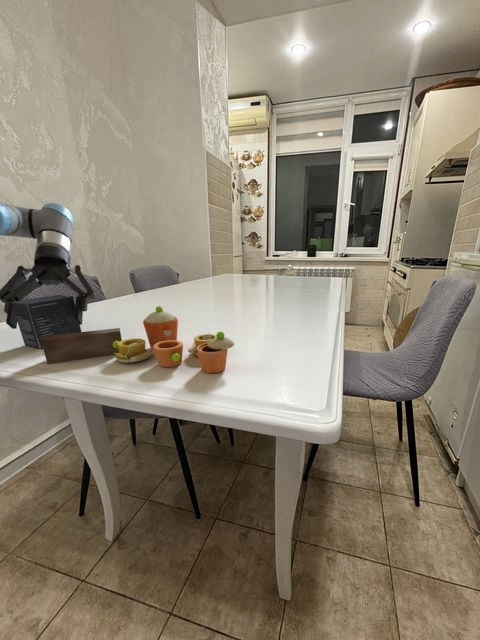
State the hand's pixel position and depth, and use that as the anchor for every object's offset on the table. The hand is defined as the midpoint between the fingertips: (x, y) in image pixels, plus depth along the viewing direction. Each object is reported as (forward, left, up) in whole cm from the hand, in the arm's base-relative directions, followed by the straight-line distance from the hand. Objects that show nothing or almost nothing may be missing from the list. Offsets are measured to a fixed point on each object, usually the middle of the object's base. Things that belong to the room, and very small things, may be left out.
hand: (45, 323), depth 68 cm
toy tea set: (+26, -23, -5) cm, 35 cm away
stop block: (+8, -13, -5) cm, 16 cm away
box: (+1, +2, -5) cm, 5 cm away
